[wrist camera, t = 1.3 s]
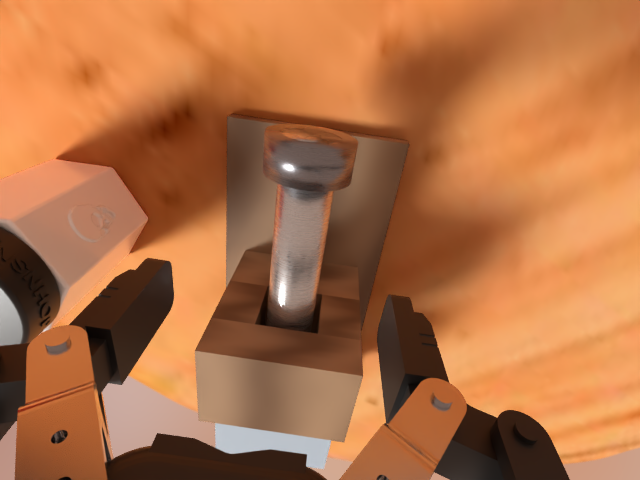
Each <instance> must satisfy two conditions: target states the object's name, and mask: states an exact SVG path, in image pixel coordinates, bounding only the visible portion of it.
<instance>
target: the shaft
mask: <svg viewBox="0 0 640 480" xmlns="http://www.w3.org/2000/svg"><path fill="white" fill-rule="evenodd" d="M357 148H358V141H357V139H355V138H354V137H352V136H350V135H348V134H346V133H343V132H340V131H337V130H333V129H329V128H324V127H318V126H312V125H303V124H277V125H272V126H269V127H267V128H266V129H265V135H264V152H263V170H262V172H263V174H264V175H265V176H266V177H267V178H268V179H269V180H271V181H273V182H275V183H277V193H276V206H275V218H274V231H273V243H272V256H271V268H270V281H269V294H268V306H267V319H266V326H270V327H276V328H283V329H289V330H296V331H303V332H309V333H311V328H312V322H313V316H314V310H315V303H316V297H317V291H318V285H319V279H320V273H321V267H322V261H323V255H324V249H325V243H326V236H327V230H328V224H329V218H330V212H331V206H332V200H333V194H334V191H337V190H341V189H344V188H346V187H348V186H349V185H350V184H351V180H352V175H353V169H354V164H355V158H356V153H357Z"/></svg>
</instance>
